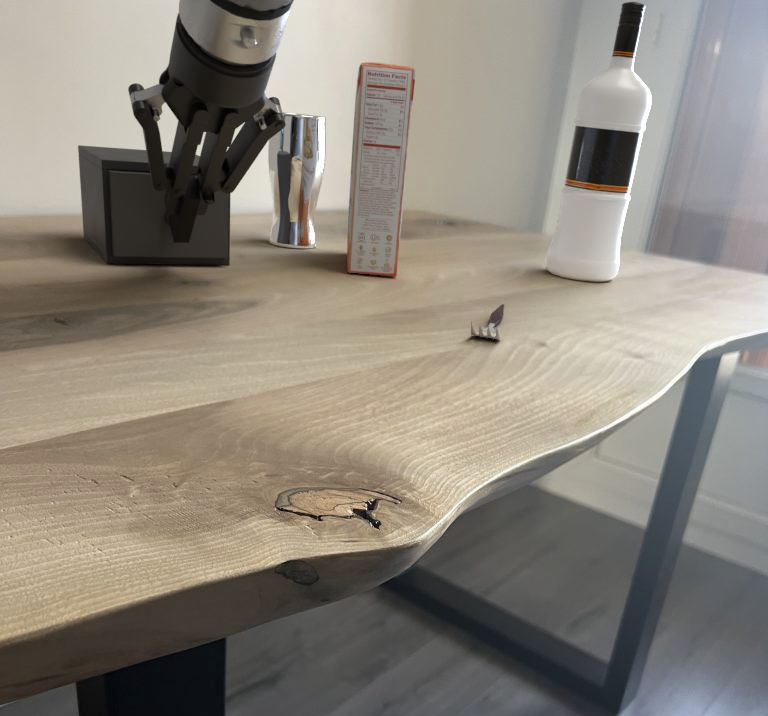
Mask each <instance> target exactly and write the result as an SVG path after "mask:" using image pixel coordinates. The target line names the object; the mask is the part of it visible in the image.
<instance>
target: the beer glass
mask: <svg viewBox="0 0 768 716" xmlns="http://www.w3.org/2000/svg"><path fill="white" fill-rule="evenodd" d="M282 113H283V116H284V120H285V124H286V125H285V127H284V128H283V129H282V130H281V131H279V132H278V133H277V134H276V135H274V136H273V137H272V138H270V139H269V140H268V144H267V145H268V147H267V163H268V175H269V183H270V190H271V191H270V192H271V199H272V222H271V226H270V227H271V228H270V233H269V237H268V243H269V244H270V245H272V246H276V247H281V248H288V249H303V250H304V249H305V250H306V249H314V248H316V247H317V244H318V243H317V233H316V213H317V212H316V211H317V210H316V209H317V205H318V202H319V201H318V200H319V196H320V192H321V188H322V184H323V176H324V172H325V166H326V154H327V153H326V152H327V132H326V131H327V127H326V126H327V125H326V124H327V118H326V117H325V116H322V115H321V116H320V115H312V114H304V113H295V112H283V111H282Z"/></svg>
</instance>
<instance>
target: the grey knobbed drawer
mask: <svg viewBox="0 0 768 716" xmlns="http://www.w3.org/2000/svg"><path fill="white" fill-rule="evenodd" d="M195 176H196V179H197V175H195ZM109 190H110V210H111V230H112V251H113V255H114V256H115V257H180V258H228V194H226V193H223V192H222V190H220V191H216V192H215V193H214V194H215V199H216V201H215V202H214V203H213V204H209V205H208V208H207V212H206V213H205V214H204V215H196V219H195V223H194V226H193V230H192V233H191V237H190V241H189V243H174V241H173V237H172V232H171V228H170V223H169V216H170V215H168V214H167V211H166V207H165V202H164V195H165V190H166V189H165V190H163V191H157V190H155V189H154V187H153V182H152V178H151V173H150V172H139V171H122V170H111V171H110V170H109Z"/></svg>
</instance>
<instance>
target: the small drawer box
mask: <svg viewBox="0 0 768 716" xmlns="http://www.w3.org/2000/svg"><path fill="white" fill-rule="evenodd" d="M77 152H78V153H77V154H78V167H79V183H80V184H79V185H80V198H81V212H82V213H81V214H82V216H81V217H82V229H83V238H84V239H85V240H86V242H87V243H88V244H89V245H90V246H91V247H92V248H93V250H94V251H95V252H96V253H97V254H98V255H99V256H100V258H101V259H102V260H103V261H104V262H105V263H106V264H108V265H181V266H182V265H183V266H185V265H188V266H190V265H191V266H193V265H194V266H196V265H197V266H229V265H230V261H231V259H230V255H231V254H230V253H231V193H229V194H228V258H180V257H115V256H114V255H113V251H112V230H111V210H110V190H109V170H110V171H111V170H122V171H139V172H150V169H149V164H148V158H147V152H146V149H135V148H122V147H109V146H93V145H80V144H79V145H77ZM162 152H163V159H164V166H166V167H167V165H166V163H168V165H169V162H170V157H171V152H172V151H166V150H165V151H164V150H162ZM199 158H200V155H198V154H196V155H195V159H194V163H193V167H192V171H191V175H197V174H196V171H197V167H198V162H199Z"/></svg>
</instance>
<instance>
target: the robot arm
mask: <svg viewBox="0 0 768 716" xmlns="http://www.w3.org/2000/svg"><path fill="white" fill-rule="evenodd" d="M293 4H294V0H179V2H178V13H177V16H176V19H175V25H174V30H173V36H172V41H171V46H170V47H171V48H170V53H169V60H168V65H167V67H166V68H165V70H163V72H161V74H160V75H159V79H158V84H155V85H153V86H149V87H147V88H144V86H143V85H142V84H140V83H132V84H130V85H129V86H128V88H127V90H128V95H129V100H130V105H131V109H132V113H133V117H134V118H135V120H136V122H138V124H139V125H140V127H141V128H142V133H143V139H144V145H145V150H146V152H147V158H148V164H149V169H150V173H151V178H152V182H153V187H154V189H155V190H157V191H163V190H165V189H166V190H165V195H164V202H165V207H166V211H167V214H168V215H170V216H169V223H170V228H171V232H172V237H173V241H174V243H189V241H190V237H191V233H192V230H193V226H194V223H195V219H196V215H204V214H205V213H206V212H207V208H208V205H209V204H213V203H214V202H215V201H216V199H215V194H214V193H215V192H216V191H220V190H222V192H223V193H226V194H229V193H230V194H232V193H233V192H234V191H235V190H236V189H237V187H238V186H239V184H240V183H241V181H242V180H243V178H244V177H245V176H246V174H247V172H248V171H249V170H250V168H251V167H252V165H253V163H254V162H255V161H256V159H257V158H258V157H259V155H260V153H261V152H262V150H263V149H264V148H265V146H266V145H267V143H269V139H270V138H272V137H273V136H274V135H276V134H277V133H278V132H279V131H281V130H282V129H283V128H284V127H285V125H286V124H285V120H284V116H283V113H282V112H283V110H282V106H281V102H280V99H279V98H278V97H276V96H271V97H269V98H268V97H267V96H266V93H265V91H266V89H267V86H268V83H269V80H270V77H271V74H272V71H273V68H274V64H275V62H276V58H277V51H278V49H279V47H280V46H281V41H282V38H283V36H284V32H285V29H286V26H287V23H288V19H289V17H290V14H291V11H292V9H293V8H292V7H293ZM164 104H166V105H167V107H168V108H169V110H170V111H171V113H172V114H173V115H174V117H175V118H176V120H177V125H176V129H175V133H174V139H173V144H172V148H171V151H170V152H171V157H170V162H169V165H168V163H166V165H167V167H166V166H164V159H163V152H162V151H163V146H162V138H161V133H160V128H159V127H160V126H159V124H158V122H159V121H160V120H161V115H162V114H163V109H162V108H163V105H164ZM239 127H241V128H240V130H239V131H238V133H237V134H236V136H235V137H234V135H235V132H236V129H238V128H239ZM204 133H205V135H204ZM203 136H204V139H203ZM233 138H234V139H233ZM202 140H203V143H202ZM201 144H202V147H201V152H200V155H199V156H200V158H199V162H198V167H197V171H196V174H197V179H196V176H195V175H191V171H192V167H193V163H194V159H195V155H197V151H198V147H199V146H201Z"/></svg>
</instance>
